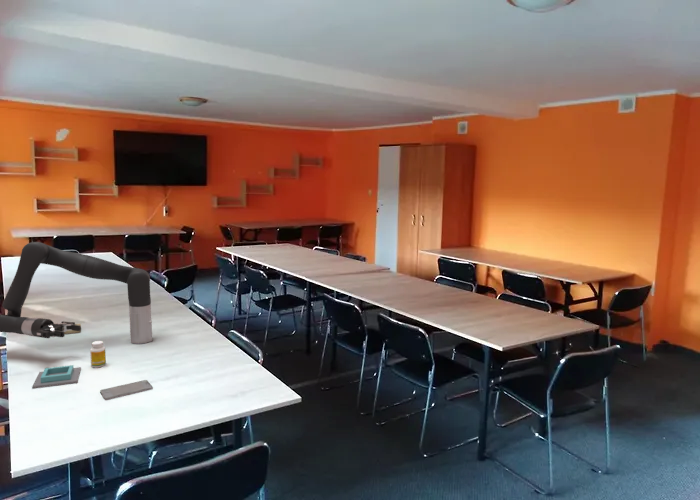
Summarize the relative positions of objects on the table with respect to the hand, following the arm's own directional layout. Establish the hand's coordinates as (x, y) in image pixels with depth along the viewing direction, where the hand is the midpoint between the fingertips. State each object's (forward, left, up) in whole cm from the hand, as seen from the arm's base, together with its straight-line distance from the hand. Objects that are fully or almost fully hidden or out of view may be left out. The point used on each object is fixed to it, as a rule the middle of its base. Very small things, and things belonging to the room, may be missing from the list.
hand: (72, 331), depth 197 cm
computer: (+10, -45, -14) cm, 48 cm away
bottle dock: (+4, +15, -13) cm, 21 cm away
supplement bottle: (-9, +6, -13) cm, 18 cm away
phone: (-20, +35, -14) cm, 43 cm away
